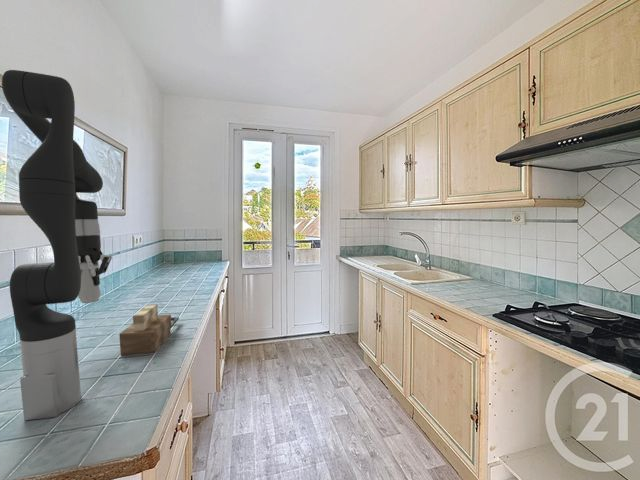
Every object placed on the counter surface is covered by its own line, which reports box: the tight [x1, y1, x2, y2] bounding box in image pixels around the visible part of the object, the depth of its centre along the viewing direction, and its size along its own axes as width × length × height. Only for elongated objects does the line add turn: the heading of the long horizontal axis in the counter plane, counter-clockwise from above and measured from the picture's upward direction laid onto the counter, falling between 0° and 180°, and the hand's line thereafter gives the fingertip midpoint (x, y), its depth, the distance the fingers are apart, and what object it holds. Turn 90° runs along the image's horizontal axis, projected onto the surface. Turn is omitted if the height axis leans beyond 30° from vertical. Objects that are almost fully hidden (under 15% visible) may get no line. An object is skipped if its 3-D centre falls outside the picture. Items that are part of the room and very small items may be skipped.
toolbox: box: [119, 319, 172, 356], centre depth 100 cm, size 15×10×6 cm, turn 10°
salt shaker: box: [77, 262, 102, 304], centre depth 93 cm, size 6×6×13 cm
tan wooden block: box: [118, 303, 180, 338], centre depth 104 cm, size 25×10×10 cm, turn 10°
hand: (89, 287), depth 93 cm, fingers closed on salt shaker, 3 cm apart
